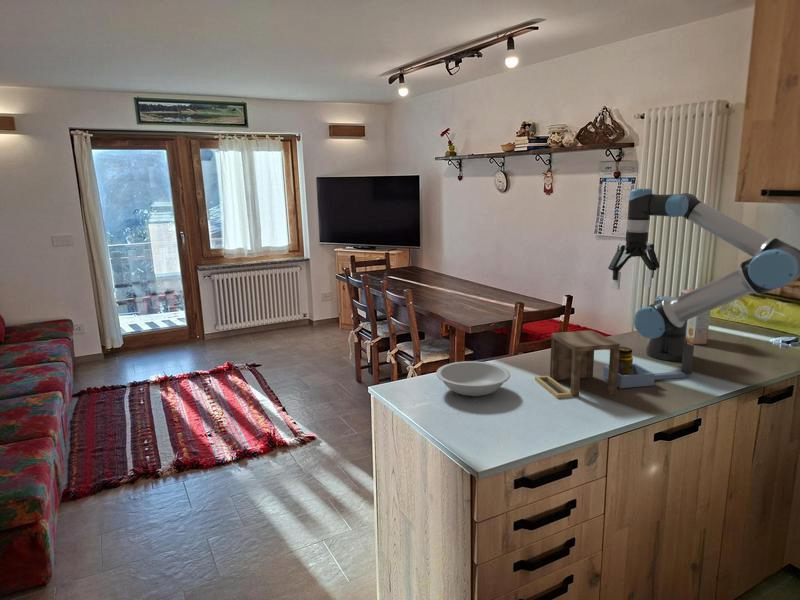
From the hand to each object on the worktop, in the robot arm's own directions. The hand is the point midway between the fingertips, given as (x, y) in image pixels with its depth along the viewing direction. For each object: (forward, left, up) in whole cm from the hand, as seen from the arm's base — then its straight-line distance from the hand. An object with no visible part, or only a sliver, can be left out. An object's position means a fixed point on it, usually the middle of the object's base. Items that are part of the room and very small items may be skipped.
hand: (632, 287), depth 203 cm
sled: (+6, +24, -27) cm, 37 cm away
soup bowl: (+69, +21, -28) cm, 77 cm away
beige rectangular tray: (+42, +24, -27) cm, 56 cm away
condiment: (+18, +24, -28) cm, 41 cm away
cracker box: (-39, -15, -28) cm, 50 cm away
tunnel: (+32, +24, -27) cm, 48 cm away
